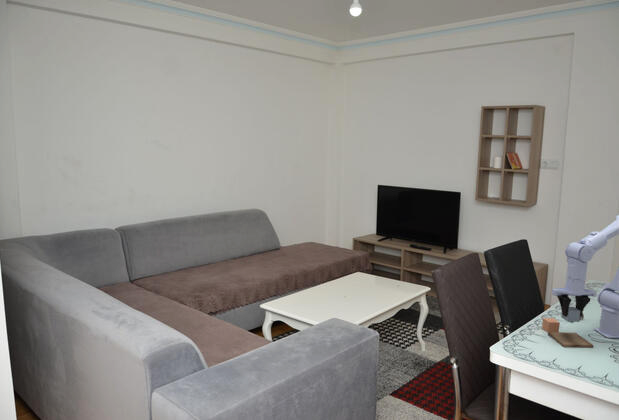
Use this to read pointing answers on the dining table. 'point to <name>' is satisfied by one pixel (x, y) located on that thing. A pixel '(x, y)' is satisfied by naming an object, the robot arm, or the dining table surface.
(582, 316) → the wooden post with brackets
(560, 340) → the walnut base plate
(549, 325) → the terracotta cube
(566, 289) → the robot arm
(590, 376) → the dining table surface
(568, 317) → the slate cube
